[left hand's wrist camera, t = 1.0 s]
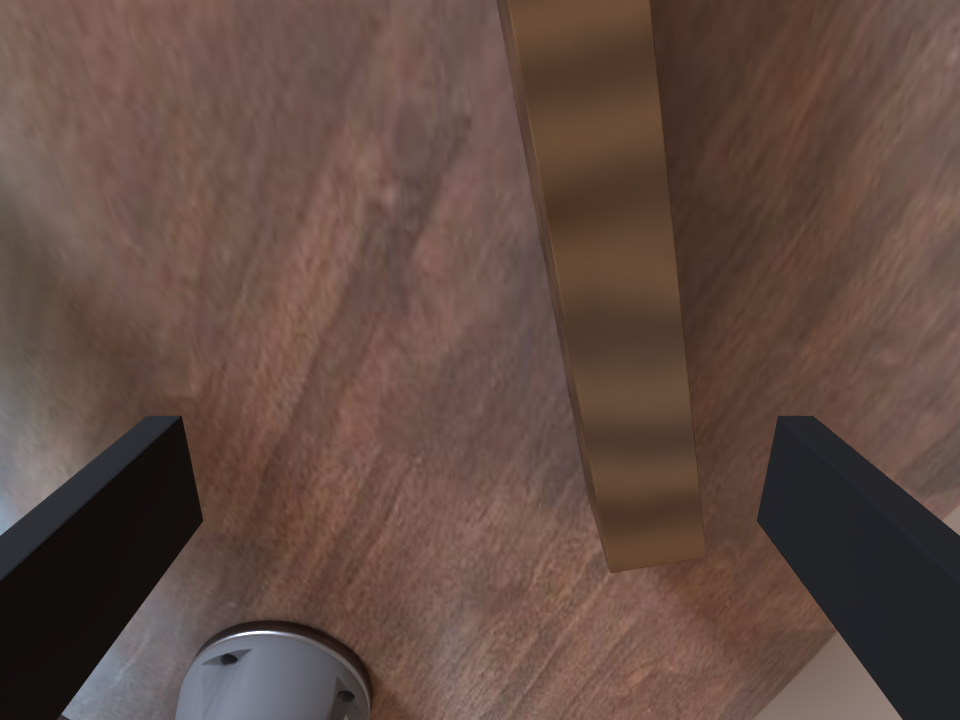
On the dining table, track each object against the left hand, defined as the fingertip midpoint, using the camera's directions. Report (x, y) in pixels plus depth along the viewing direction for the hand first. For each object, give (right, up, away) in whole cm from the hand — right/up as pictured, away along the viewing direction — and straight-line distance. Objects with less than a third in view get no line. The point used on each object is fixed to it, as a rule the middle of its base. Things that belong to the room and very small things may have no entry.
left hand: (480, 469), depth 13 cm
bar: (+5, +16, +19) cm, 26 cm away
